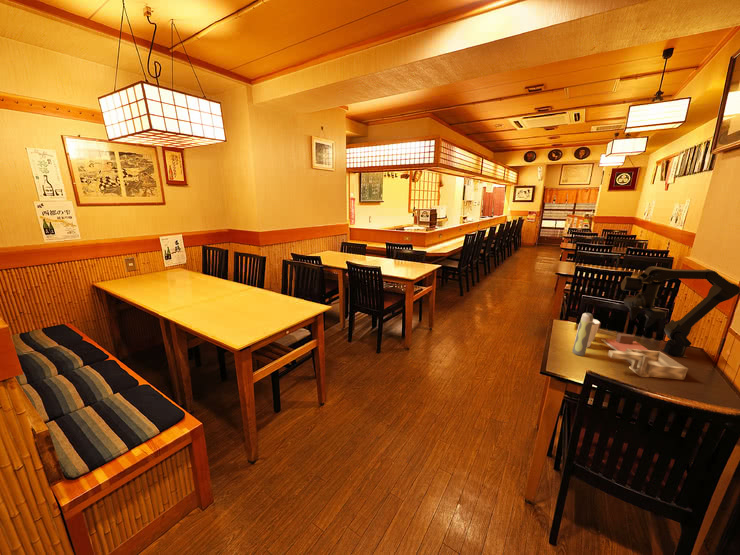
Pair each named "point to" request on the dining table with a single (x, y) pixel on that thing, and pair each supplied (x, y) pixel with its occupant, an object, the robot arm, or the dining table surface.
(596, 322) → the white cup
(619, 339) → the lid
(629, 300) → the robot arm
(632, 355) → the tan wooden bar
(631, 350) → the toolbox
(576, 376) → the dining table surface
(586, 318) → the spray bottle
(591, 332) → the can
